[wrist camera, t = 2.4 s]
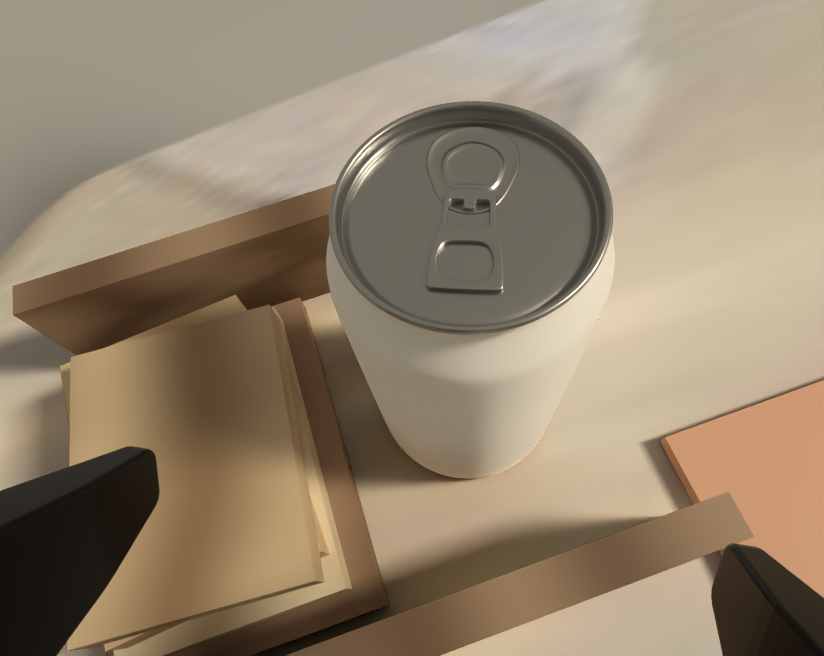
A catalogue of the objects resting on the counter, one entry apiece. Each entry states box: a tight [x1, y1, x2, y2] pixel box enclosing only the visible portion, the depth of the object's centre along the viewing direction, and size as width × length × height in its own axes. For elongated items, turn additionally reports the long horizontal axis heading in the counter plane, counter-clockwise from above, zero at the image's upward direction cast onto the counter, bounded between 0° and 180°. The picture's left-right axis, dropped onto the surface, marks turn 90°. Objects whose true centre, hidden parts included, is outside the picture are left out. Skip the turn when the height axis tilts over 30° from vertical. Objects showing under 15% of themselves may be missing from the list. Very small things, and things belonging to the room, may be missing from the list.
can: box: [326, 101, 615, 478], centre depth 17 cm, size 6×6×12 cm
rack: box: [13, 184, 754, 656], centre depth 20 cm, size 19×15×5 cm
